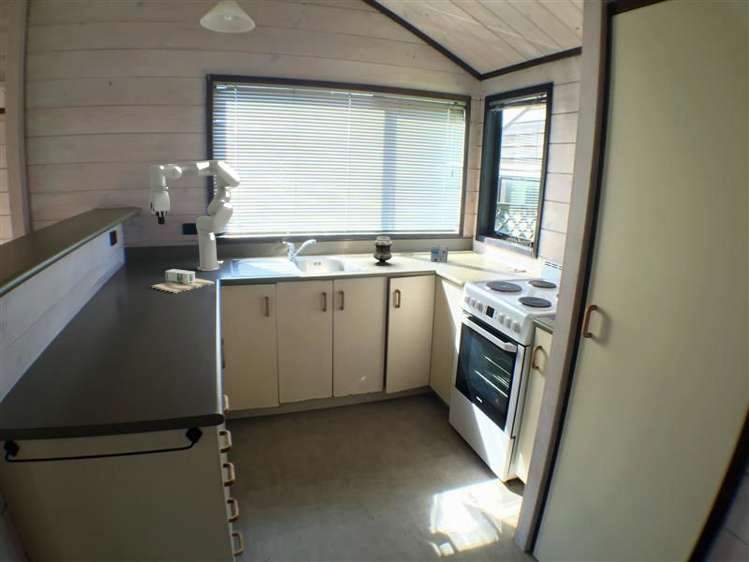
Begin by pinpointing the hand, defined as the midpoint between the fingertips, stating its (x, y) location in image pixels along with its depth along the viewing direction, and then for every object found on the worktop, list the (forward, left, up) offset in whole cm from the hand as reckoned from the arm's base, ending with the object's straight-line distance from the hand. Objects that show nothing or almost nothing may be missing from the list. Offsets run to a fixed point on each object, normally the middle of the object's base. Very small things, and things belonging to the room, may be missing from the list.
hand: (161, 224), depth 254 cm
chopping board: (+7, +24, -29) cm, 38 cm away
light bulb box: (-137, +104, -29) cm, 174 cm away
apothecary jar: (-104, +78, -29) cm, 133 cm away
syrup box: (+7, +12, -25) cm, 29 cm away
